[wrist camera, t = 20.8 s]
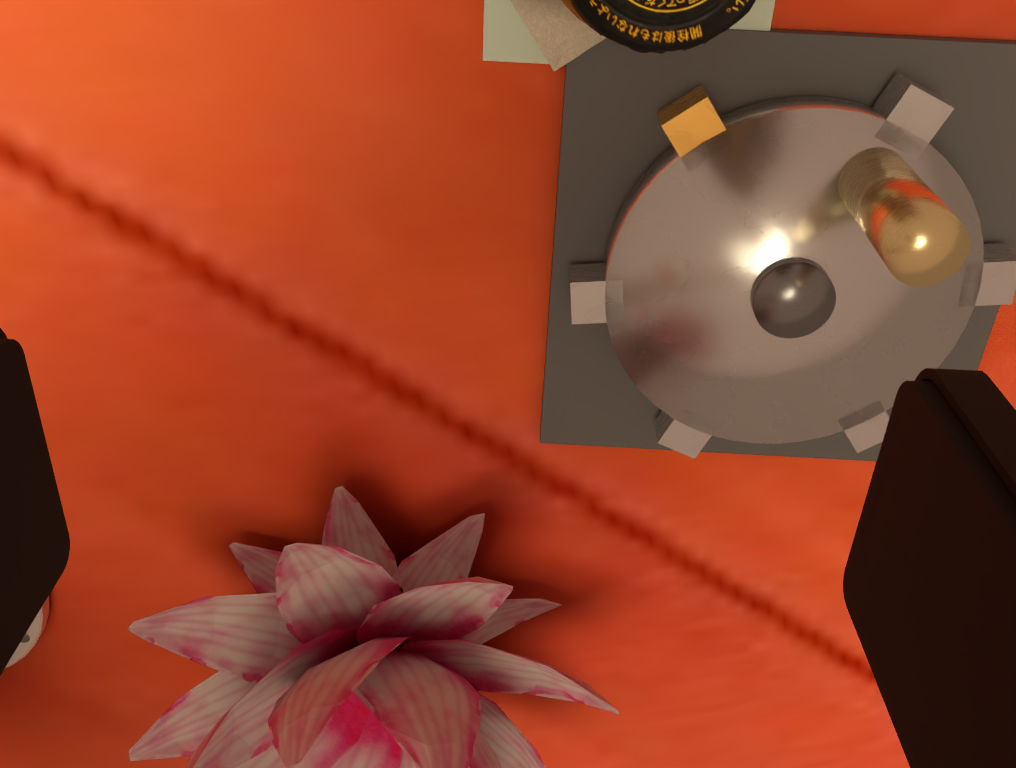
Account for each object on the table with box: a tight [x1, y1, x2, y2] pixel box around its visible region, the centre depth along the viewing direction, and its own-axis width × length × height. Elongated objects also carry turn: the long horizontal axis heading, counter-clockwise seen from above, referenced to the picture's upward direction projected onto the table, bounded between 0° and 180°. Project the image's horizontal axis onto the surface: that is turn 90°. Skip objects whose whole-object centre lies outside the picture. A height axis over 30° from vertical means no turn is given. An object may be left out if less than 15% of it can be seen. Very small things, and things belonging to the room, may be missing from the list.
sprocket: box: [569, 72, 1016, 459], centre depth 35 cm, size 15×17×8 cm
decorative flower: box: [127, 486, 620, 768], centre depth 43 cm, size 21×21×15 cm
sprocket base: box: [540, 29, 1016, 461], centre depth 39 cm, size 18×18×1 cm
